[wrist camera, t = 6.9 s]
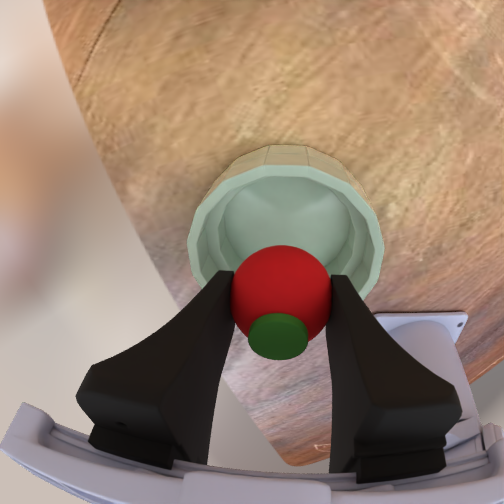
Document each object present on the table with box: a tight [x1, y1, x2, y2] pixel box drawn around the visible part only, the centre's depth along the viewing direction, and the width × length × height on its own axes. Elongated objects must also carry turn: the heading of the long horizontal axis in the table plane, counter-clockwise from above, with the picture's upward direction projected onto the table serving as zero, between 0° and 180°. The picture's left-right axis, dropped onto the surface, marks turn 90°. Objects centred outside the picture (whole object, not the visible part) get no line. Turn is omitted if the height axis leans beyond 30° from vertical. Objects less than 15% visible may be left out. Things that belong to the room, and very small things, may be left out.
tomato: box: [230, 245, 332, 360], centre depth 12 cm, size 4×4×4 cm
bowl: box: [187, 145, 385, 300], centre depth 16 cm, size 9×9×4 cm
